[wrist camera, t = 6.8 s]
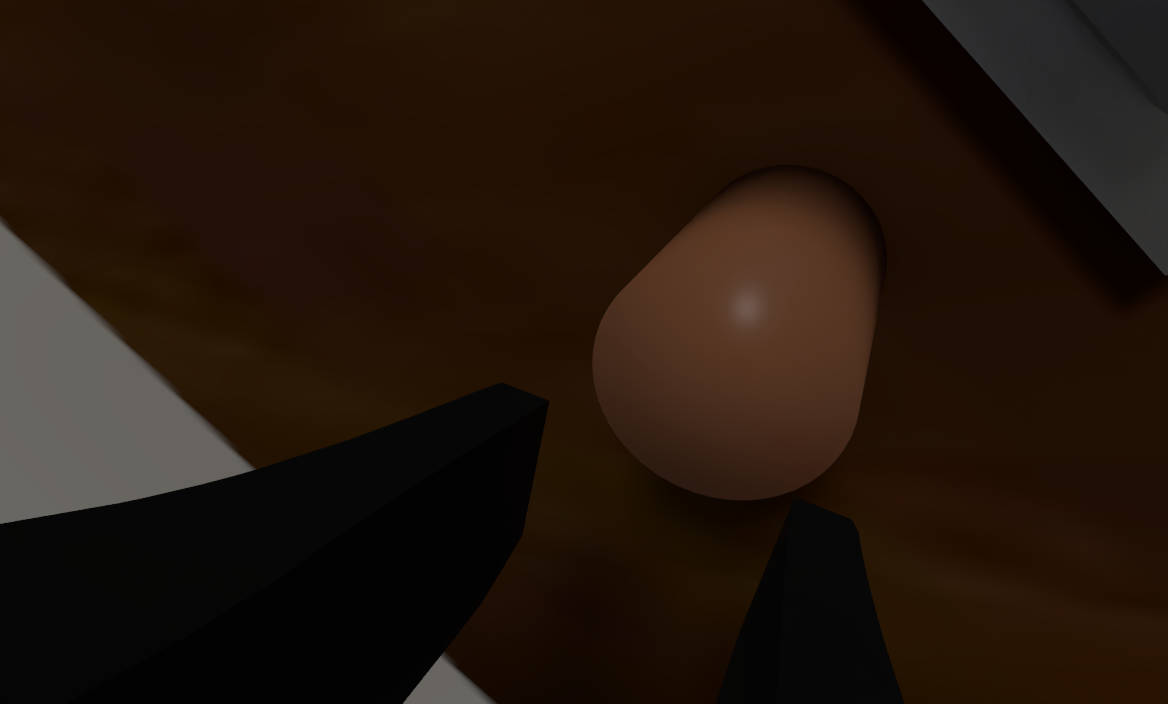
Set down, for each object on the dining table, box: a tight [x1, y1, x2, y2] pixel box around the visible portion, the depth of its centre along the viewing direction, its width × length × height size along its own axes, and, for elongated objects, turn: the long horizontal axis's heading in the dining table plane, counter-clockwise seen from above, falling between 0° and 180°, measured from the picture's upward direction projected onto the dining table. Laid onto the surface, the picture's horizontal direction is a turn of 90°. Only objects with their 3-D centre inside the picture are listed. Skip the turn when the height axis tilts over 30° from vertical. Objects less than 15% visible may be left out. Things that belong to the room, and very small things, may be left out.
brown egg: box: [592, 165, 887, 500], centre depth 15 cm, size 4×4×6 cm
